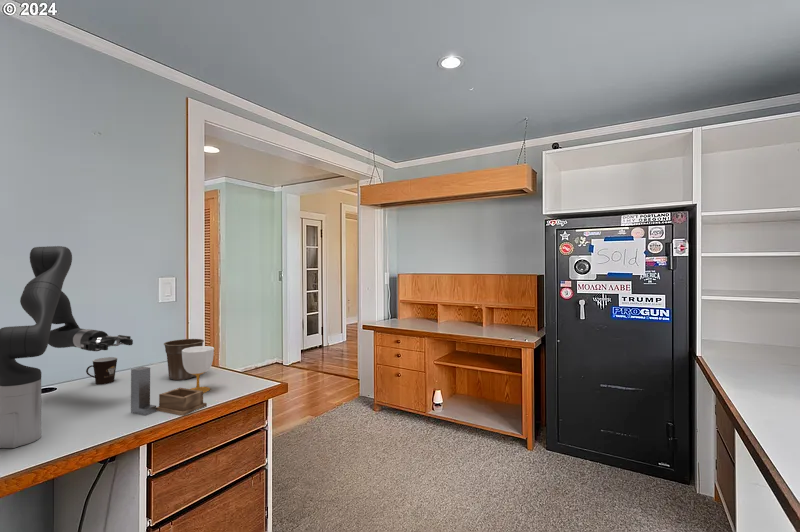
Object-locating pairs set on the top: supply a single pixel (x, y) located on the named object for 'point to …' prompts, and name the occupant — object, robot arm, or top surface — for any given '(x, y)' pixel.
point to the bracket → (141, 391)
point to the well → (180, 401)
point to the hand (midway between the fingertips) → (119, 344)
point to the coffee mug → (104, 370)
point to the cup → (198, 362)
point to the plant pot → (179, 357)
